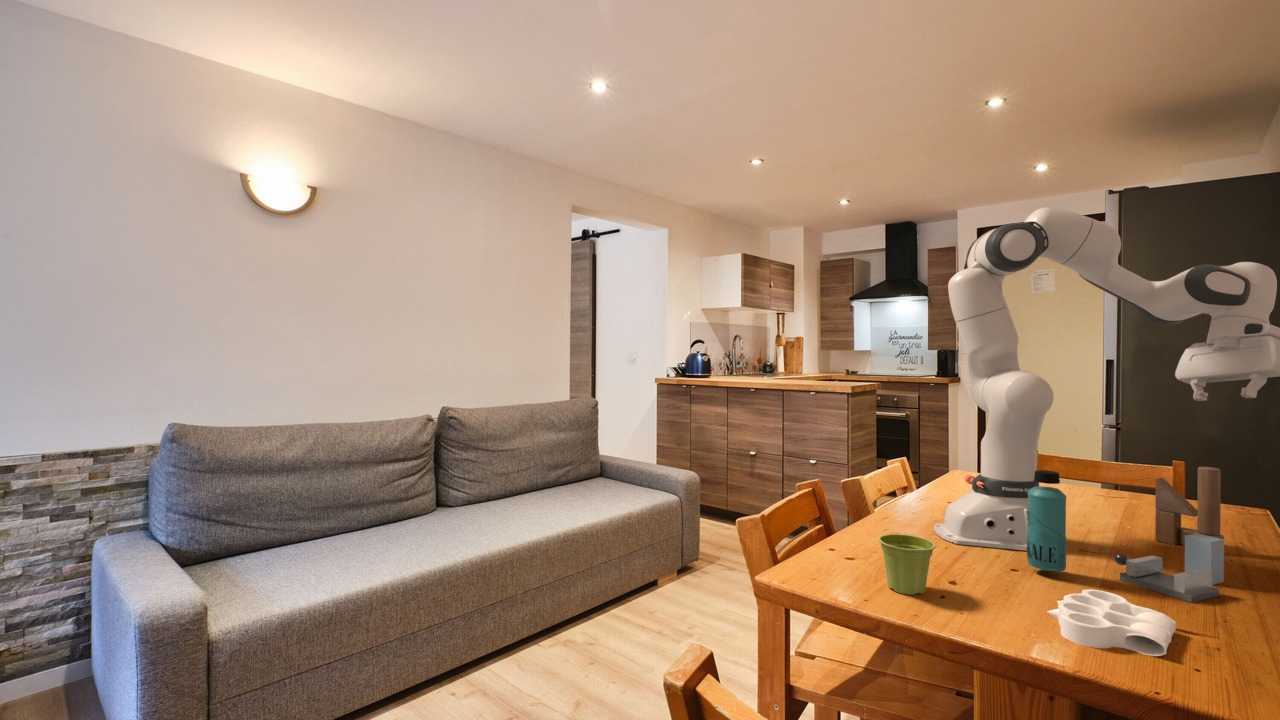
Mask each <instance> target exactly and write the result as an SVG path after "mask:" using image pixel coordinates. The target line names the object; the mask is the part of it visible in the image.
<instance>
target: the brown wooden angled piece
mask: <svg viewBox="0 0 1280 720" xmlns="http://www.w3.org/2000/svg"><path fill="white" fill-rule="evenodd" d="M1221 473H1222V471H1221V469H1220V468H1217V467H1211V466H1198V468H1197V508H1196V507H1194V505H1193V504H1192V503H1190V502H1189V501H1188V500H1187V498H1185V497H1184V496H1183V494H1181V493H1180V492H1179V491H1178V490H1177V489H1176V488H1175V487H1173V486H1172V484H1170V483H1169V482H1168V481H1167V480H1166V479H1165V478H1164V477H1160V478H1155V490H1154V491H1155V497H1154V498H1155V502H1154V504H1155V517H1154V518H1155V530H1154V531H1155V538H1154V539H1155V541H1157V542H1159V543H1163V542H1164V544H1168V543H1169V544H1168V545H1172V544H1174V545H1177V544H1179V545H1181V546H1182V547H1185V536H1186V535H1192V534H1197V533H1198V534H1202V535H1207V536H1211V537H1215V538H1220V539H1224V540H1225V537H1224V535H1223V534H1221V503H1222V502H1221V499H1222V498H1221V496H1222V493H1221V492H1222V491H1221V490H1222V489H1221V488H1222V487H1221V486H1222V484H1221V483H1222V482H1221V481H1222V479H1221V476H1222V474H1221ZM1182 515H1183V516H1189V517H1194V518H1195V517H1197V518H1196V519H1197V523H1196V524H1197V525H1196V526H1197V528H1196V529H1194V528H1188V527H1184V526H1183V527H1182Z"/></svg>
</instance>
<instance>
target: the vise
mask: <svg viewBox="0 0 1280 720" xmlns="http://www.w3.org/2000/svg"><path fill="white" fill-rule="evenodd" d="M1119 580H1120V581H1122V580H1123V582H1125V581H1126V583H1128V582H1129V583H1128V584H1131V583H1132V584H1131V585H1134V584H1136V585H1135V586H1138V587H1141V588H1144V589H1148V590H1150V591H1154V592H1157V593H1160V594H1163V595H1166V596H1170V597H1171V598H1176V599H1178V600H1179V599H1180V600H1182V601H1185V602H1187V603H1196V602H1200V601H1204V600H1209V599H1212V598H1216V597H1220V589H1219V588H1216V587H1213V585H1212V571H1209V570H1205V569H1197V570H1192V571H1187V572H1185V571H1184V572H1178V573H1175V574H1168V573H1165V572H1163V571H1162V572H1158V573H1153V574H1148V575H1143V576H1138V577H1133V576H1130V575H1127V574H1126V571H1125V572H1119Z"/></svg>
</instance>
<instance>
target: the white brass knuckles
mask: <svg viewBox="0 0 1280 720" xmlns="http://www.w3.org/2000/svg"><path fill="white" fill-rule="evenodd" d="M1056 603H1057V607H1058V608H1056V609H1055V608H1054V609H1051V610H1047V611H1045V612H1046V613H1048V614H1050V615H1051V616H1052V617H1054V618H1056V619H1057V621H1058V625H1059V626H1060V635H1061V636H1062V637H1063V638H1064V639H1066V640H1067V641H1070V642H1073V643H1075V644H1078V645H1080V646H1083V647H1088V648H1093V649H1110V648H1123V649H1127V650H1128V651H1129V650H1130V651H1133V652H1136V653H1139V654H1141V655H1145V656H1150V657H1161V656H1165V655H1167V650H1168V647H1169V644H1170V643H1172V637H1173V635H1174V633H1175V632H1176V629H1177V622H1176V621H1175V620H1173V619H1172V618H1171V617H1170V616H1168V615H1166V614H1165V613H1163V612H1160V611H1157V610H1154V609H1151V608H1149V607H1144V606H1141V605H1139V606H1138V605H1136V604H1134V603H1131V602H1128V600H1127V599H1126V598H1124V597H1122V596H1121V595H1118V594H1116V593H1112V592H1108V591H1105V590H1099V589H1082V591H1081V592H1080V593H1070V594H1065V595H1064V596H1063V600H1056Z"/></svg>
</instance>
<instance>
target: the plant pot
mask: <svg viewBox="0 0 1280 720" xmlns="http://www.w3.org/2000/svg"><path fill="white" fill-rule="evenodd" d="M878 542H879V543H880V545H881V549H882V551H883V559H884V565H885V571H886V572H885V573H886V581H887V586H888V588H889V589H893V590H894V591H895V592H896V593H899V594H903V595H907V596H908V595H909V596H914V595H917V594H920V595H923V594H924V593H925V592H926V588H927V581H928V576H929V574H928V573H929V568H930V562H931V557H932V556H933V551H934V550H935V549H936V544H935V542H934V541H932V540H930V539H927V538H924V537H921V536H916V535H912V534H902V533H888V534H882V535H880V536H879V537H878Z"/></svg>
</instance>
